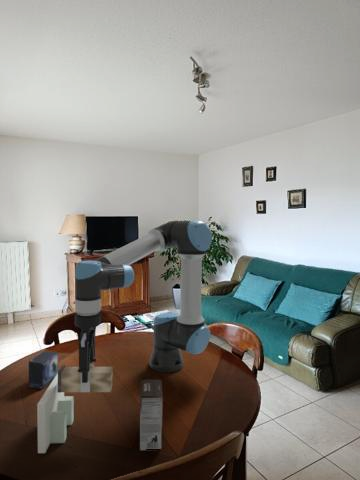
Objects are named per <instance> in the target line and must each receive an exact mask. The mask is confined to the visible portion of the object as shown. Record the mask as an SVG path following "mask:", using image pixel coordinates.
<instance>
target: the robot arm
mask: <svg viewBox="0 0 360 480" xmlns="http://www.w3.org/2000/svg"><path fill="white" fill-rule="evenodd" d="M212 241H213V236H212V231H211V228H210V227H209V226H208V224H207V223H206V222H203V221H198V220H172V221H169V222H165V223H163V224H160V225H159V226H156V227H154V228H152V229H150V230H149V231H148V233H147V234H146V235H143V236H141V237H139V238H138V239H136V240H134V241H131V242H129V243H128V244H125V245H124V246H121V247H119V248H117V249H115V250H113V251H111V252H109V253H107V254H105V255H102V256H101V257H98V258H96V259H94V260H92V259H88V260H82V261H78V262H77V263H76V264H75V268H74V269H75V271H74V301H73V302H72V304H73V305H75V306H74V312H75V314H74V326H75V327H76V328H79V329H80V330H81V332H79V339H78V341H77V343H78V367H79V369H78V372H79V373H81V390H80V392H79V393H91V392H90V367H95V365H94V363H96V362H97V358H96V330H97V328H98V326H100V325H101V321H102V320H101V317H102V316H101V315H102V314H101V312H100V311H101V310H102V299H101V298H102V292H103V291H110V290H117V289H123V288H127V287H130V286H132V284H133V283H134V281H135V271H134V269H133V267H132V266H131V265H132V264H134V263H136V262H138V261H139V260H142V259H143V258H145V257H146V256H148V255H150V254H153V253H155V252H156V251H158V252H161V251H163V250H165V249H171V248H172V249H173V248H174V249H177V251H176V254H177V255H178V257H180V303H179V304H180V306H179V307H180V310H179V311H180V313H178V312H164V313H160V314H157V315H156V316H154V318H153V349H152V352H151V355H150V358H149V367H150V369H152V370H153V371H155V372H158V373H163V374H164V373H167V374H169V373H173V372H177V371H180V370H181V369H183V367H184V358H183V355H182V351H184V352H186V353H188V354H193V355H199V354H201V353H203V352H204V351H205V349H206V348H207V347H208V344H209V342H210V339H211V331H210V328H209V327H208V326H205V318H204V317H203V316H202V280H203V277H202V272H203V269H202V267H203V258H204V256H205V255H206V254H207V253H206V251H208V250H209V249H210V247H211V245H212ZM181 350H182V351H181Z"/></svg>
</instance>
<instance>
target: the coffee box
mask: <svg viewBox="0 0 360 480" xmlns="http://www.w3.org/2000/svg"><path fill="white" fill-rule="evenodd" d="M139 395H140V397H139V403H140V404H139V451H147V450H146V449H161V448H162V446H163V445H162V444H163V440H162V439H163V383H162V379H141V380H140V394H139ZM162 449H163V448H162ZM162 449H161V450H162Z"/></svg>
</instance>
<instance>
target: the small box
mask: <svg viewBox="0 0 360 480" xmlns="http://www.w3.org/2000/svg"><path fill="white" fill-rule="evenodd" d="M58 361H59V352H56V351H55V352H54V351H49V350H44V351H42V352H41V353H39V354H37V355H36V356H34V357H33V358H31V359H30V360H28V388H29V389H37V390H43V389H44V388H46V387H47V386H48V385H50V384H51V383H52V381H53V380H54V378H55V376H56V375H57V373H58V371H59V366H58V365H59V362H58Z"/></svg>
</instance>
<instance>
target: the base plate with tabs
mask: <svg viewBox="0 0 360 480" xmlns="http://www.w3.org/2000/svg"><path fill="white" fill-rule="evenodd" d="M74 401H75V400H74V396H73V395H71V396H69V395H68V396H67V395H66V396H65V392H60V393H58V373H57V375H56V376H55V378H54V380H53V381H52V382H51V383H49V386H48V387H47V389H46V390H45V392H44V393H43V394H42V396H41V398H40V400H39V401H38V403H37V404H36V407H37V408H36V409H37V413H36V414H37V422H36V423H37V454H46V452H47V450H48V449H49V446H50V445H51V444H64V443H66V440H67V428H68V427H67V426H72V425H73V423H74V420H75V419H74V415H75V413H74V411H75V410H74V409H75V408H74V406H75V404H74V403H75V402H74Z"/></svg>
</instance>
